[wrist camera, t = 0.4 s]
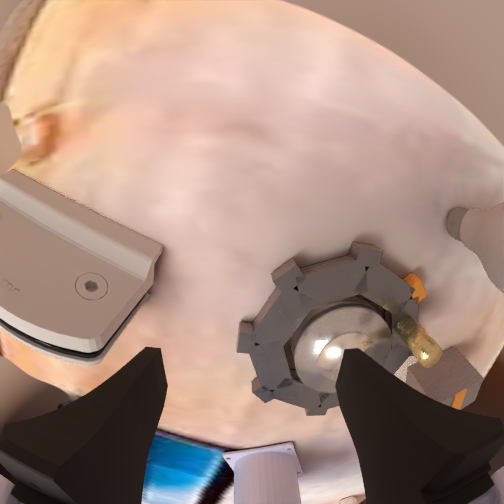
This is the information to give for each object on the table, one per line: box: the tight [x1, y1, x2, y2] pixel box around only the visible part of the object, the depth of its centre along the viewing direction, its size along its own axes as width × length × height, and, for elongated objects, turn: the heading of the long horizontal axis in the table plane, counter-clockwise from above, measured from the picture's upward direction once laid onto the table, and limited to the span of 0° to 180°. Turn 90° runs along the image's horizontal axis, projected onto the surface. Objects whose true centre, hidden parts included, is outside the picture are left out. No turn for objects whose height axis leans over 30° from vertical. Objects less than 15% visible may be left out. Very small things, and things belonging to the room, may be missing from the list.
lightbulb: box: [447, 202, 504, 293], centre depth 13 cm, size 6×6×11 cm
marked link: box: [406, 346, 483, 410], centre depth 20 cm, size 4×6×6 cm, turn 105°
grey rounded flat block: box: [0, 169, 163, 366], centre depth 15 cm, size 17×5×10 cm, turn 64°
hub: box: [291, 296, 392, 393], centre depth 20 cm, size 8×8×3 cm
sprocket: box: [237, 242, 442, 416], centre depth 18 cm, size 15×15×6 cm
